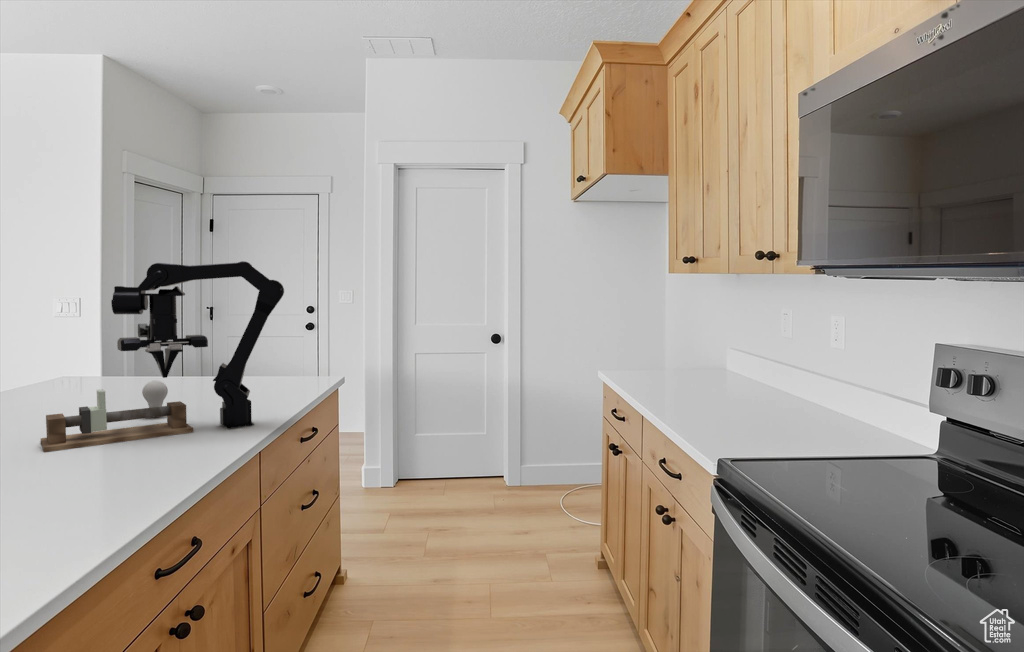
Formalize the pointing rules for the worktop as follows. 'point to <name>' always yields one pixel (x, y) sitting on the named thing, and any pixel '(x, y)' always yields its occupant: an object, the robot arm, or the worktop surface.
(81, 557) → the worktop surface
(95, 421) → the sleeve
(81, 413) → the dark grey angular piece
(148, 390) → the light bulb
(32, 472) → the worktop surface
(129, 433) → the pipe stand
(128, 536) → the worktop surface
